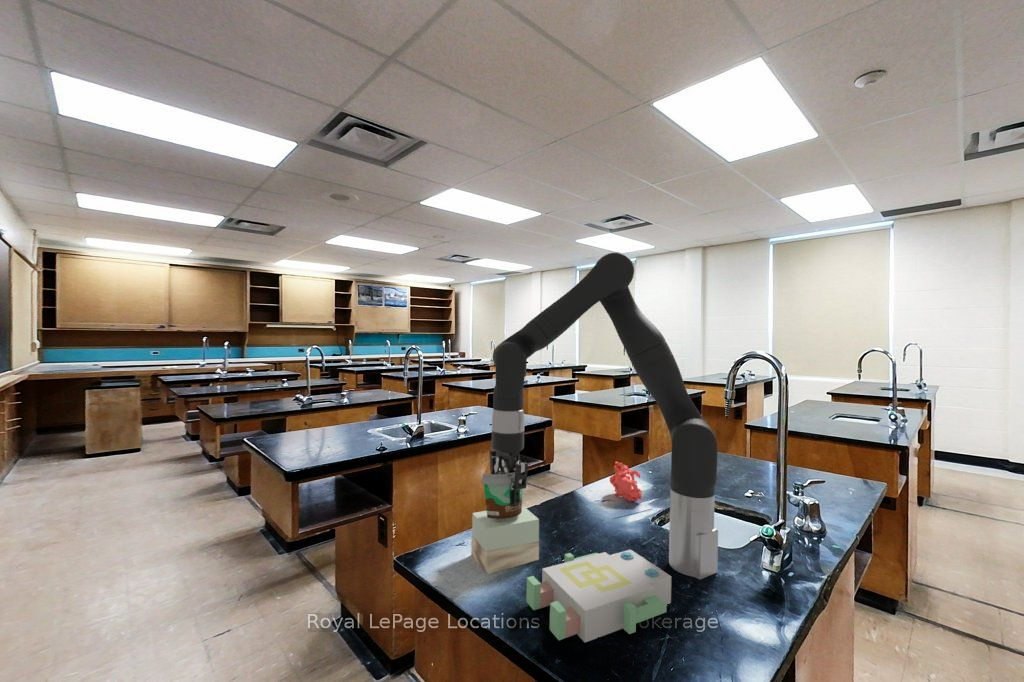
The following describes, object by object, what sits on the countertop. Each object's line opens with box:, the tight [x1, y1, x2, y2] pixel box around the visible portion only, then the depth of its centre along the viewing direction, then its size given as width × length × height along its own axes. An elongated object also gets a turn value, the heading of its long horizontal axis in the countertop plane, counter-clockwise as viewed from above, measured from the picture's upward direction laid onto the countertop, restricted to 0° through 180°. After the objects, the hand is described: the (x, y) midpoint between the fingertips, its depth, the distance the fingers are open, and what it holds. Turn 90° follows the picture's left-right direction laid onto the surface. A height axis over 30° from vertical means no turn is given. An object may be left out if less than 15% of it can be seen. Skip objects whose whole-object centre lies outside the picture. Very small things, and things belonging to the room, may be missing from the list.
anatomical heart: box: [609, 461, 643, 503], centre depth 136 cm, size 9×12×12 cm
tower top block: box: [471, 504, 540, 552], centre depth 98 cm, size 9×13×5 cm
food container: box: [481, 470, 523, 519], centre depth 97 cm, size 12×6×10 cm, turn 141°
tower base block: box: [470, 534, 540, 575], centre depth 98 cm, size 9×13×5 cm
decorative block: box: [525, 549, 672, 643], centre depth 81 cm, size 26×6×20 cm
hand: (507, 500), depth 98 cm, fingers open, 6 cm apart
